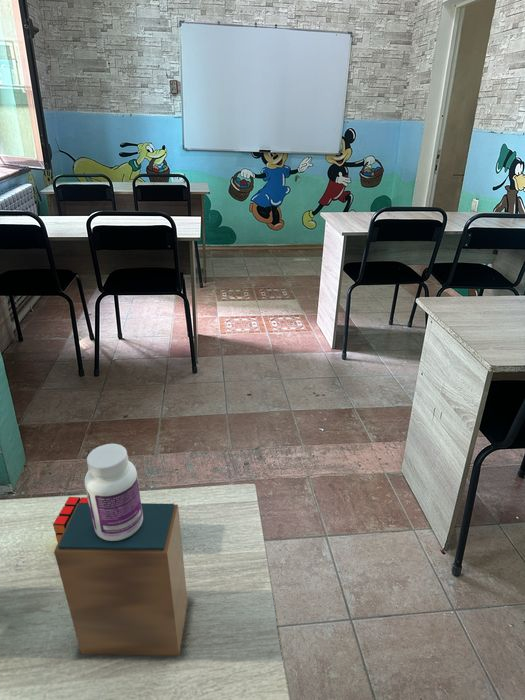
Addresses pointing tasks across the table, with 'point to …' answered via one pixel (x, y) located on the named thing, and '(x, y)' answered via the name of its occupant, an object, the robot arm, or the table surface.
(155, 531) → the cloth
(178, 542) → the stand
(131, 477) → the pill bottle
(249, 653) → the table surface
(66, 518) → the puzzle toy
